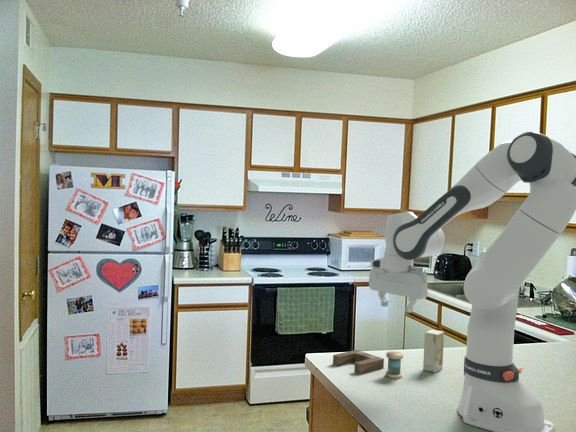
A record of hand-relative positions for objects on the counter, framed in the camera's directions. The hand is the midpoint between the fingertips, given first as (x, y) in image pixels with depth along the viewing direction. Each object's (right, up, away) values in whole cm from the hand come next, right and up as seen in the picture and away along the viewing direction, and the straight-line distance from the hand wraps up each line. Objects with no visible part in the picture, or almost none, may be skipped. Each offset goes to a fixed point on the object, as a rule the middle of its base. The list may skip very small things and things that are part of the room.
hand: (396, 309), depth 162 cm
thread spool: (-1, -21, +1) cm, 21 cm away
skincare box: (+14, -21, +9) cm, 27 cm away
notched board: (-10, -20, +9) cm, 25 cm away
